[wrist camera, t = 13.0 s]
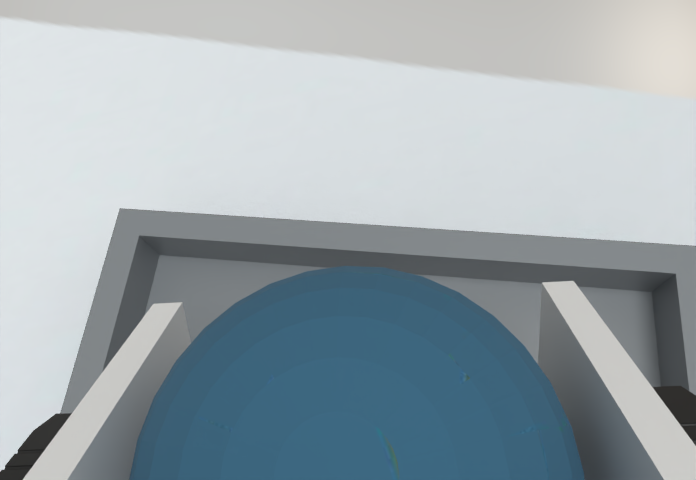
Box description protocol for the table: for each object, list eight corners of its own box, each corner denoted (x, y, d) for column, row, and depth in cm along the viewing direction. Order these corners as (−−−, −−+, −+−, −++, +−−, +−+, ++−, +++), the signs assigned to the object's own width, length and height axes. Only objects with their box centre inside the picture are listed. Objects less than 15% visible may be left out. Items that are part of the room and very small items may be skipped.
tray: (671, 272, 21) (705, 246, 19) (737, 860, 15) (799, 929, 12) (147, 236, 23) (120, 208, 21) (17, 728, 17) (-42, 765, 15)
